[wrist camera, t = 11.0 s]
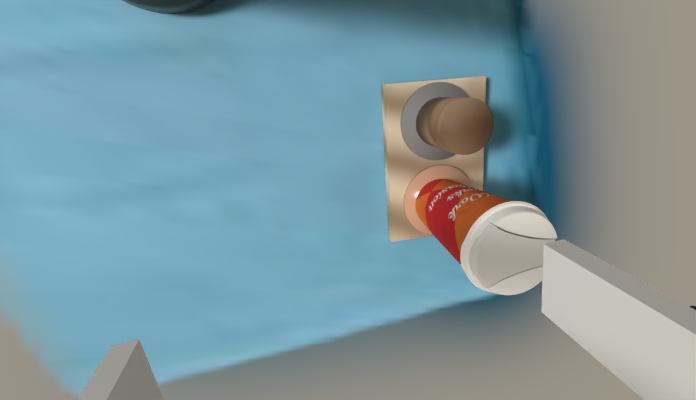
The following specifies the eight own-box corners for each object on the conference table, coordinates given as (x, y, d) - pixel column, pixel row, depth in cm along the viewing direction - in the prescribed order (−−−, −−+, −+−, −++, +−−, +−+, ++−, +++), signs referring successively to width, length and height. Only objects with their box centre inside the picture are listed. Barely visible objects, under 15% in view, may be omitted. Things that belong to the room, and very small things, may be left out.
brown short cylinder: (415, 99, 37) (440, 100, 31) (461, 95, 38) (494, 95, 32) (416, 148, 38) (440, 158, 33) (460, 143, 39) (492, 151, 33)
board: (381, 84, 37) (384, 84, 36) (479, 76, 39) (486, 76, 38) (388, 237, 42) (392, 241, 41) (476, 224, 44) (481, 227, 43)
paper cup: (473, 167, 40) (571, 202, 27) (467, 232, 42) (555, 295, 29) (405, 170, 39) (473, 209, 25) (403, 238, 41) (464, 306, 28)
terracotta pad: (401, 169, 39) (403, 170, 39) (471, 160, 40) (473, 161, 40) (404, 238, 41) (406, 239, 41) (470, 228, 43) (472, 229, 42)
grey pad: (398, 85, 37) (400, 85, 36) (472, 79, 38) (475, 78, 37) (401, 163, 39) (403, 164, 38) (471, 155, 40) (473, 156, 40)
